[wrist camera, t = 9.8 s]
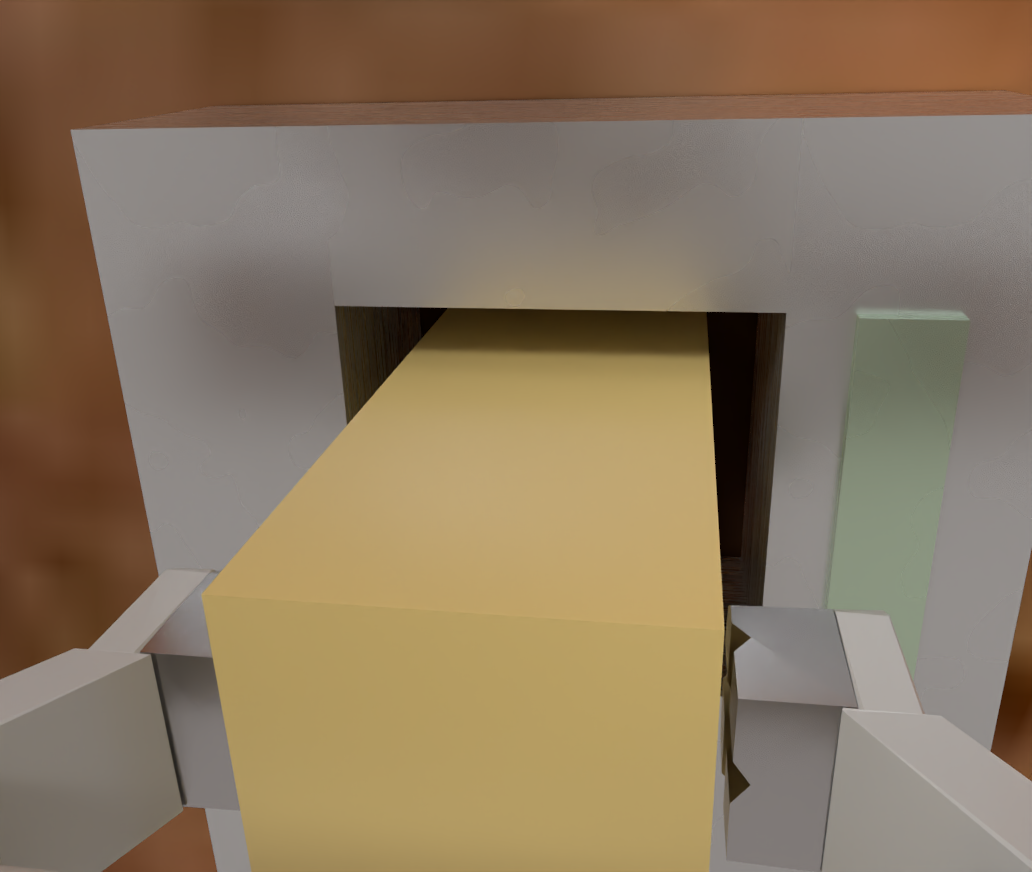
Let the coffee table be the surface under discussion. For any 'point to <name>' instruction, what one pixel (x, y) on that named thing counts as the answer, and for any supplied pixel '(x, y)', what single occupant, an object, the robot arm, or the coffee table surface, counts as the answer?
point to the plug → (490, 612)
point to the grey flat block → (610, 286)
